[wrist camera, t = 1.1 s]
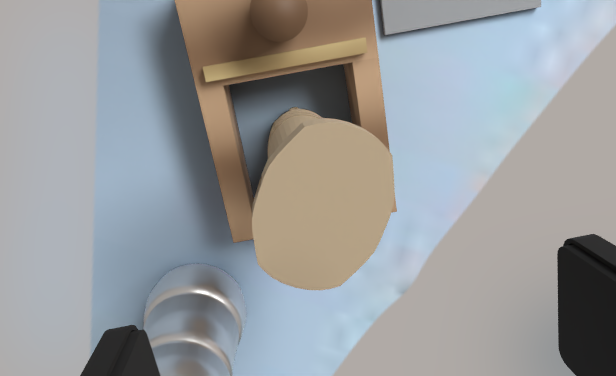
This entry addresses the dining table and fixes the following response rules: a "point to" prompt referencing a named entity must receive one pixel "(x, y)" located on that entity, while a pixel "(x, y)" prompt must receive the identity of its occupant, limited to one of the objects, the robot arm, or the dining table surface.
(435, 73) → the dining table surface
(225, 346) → the plastic bottle
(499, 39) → the dining table surface
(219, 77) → the body
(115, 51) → the dining table surface
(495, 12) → the mat
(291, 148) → the handle
